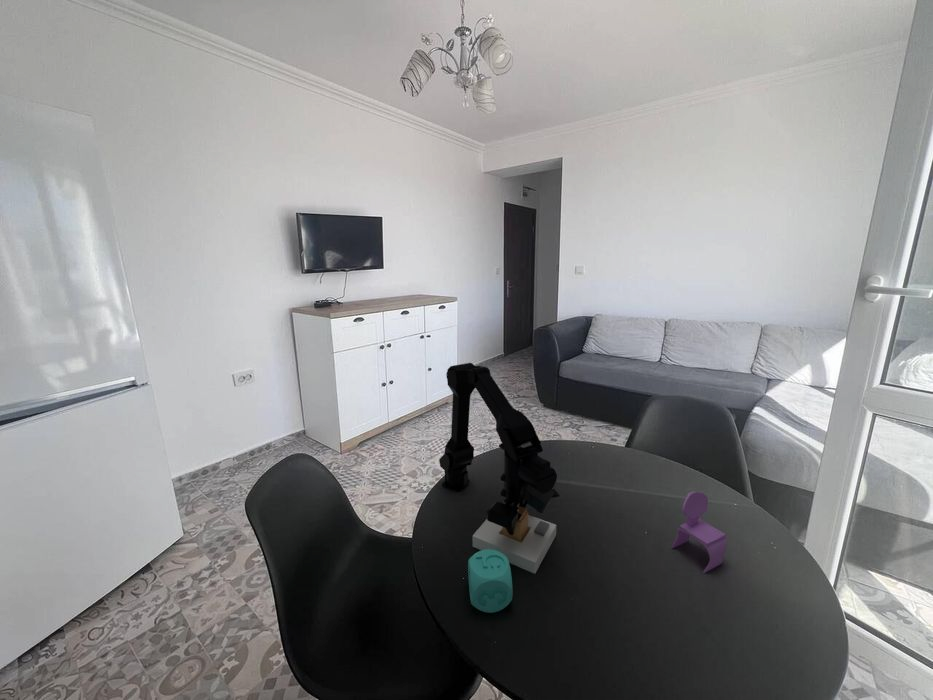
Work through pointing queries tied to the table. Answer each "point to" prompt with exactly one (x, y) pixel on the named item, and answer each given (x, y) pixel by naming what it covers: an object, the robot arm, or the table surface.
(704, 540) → the toy chair
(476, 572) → the decorative dice
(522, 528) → the brown block
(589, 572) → the table surface
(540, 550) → the socket plate
